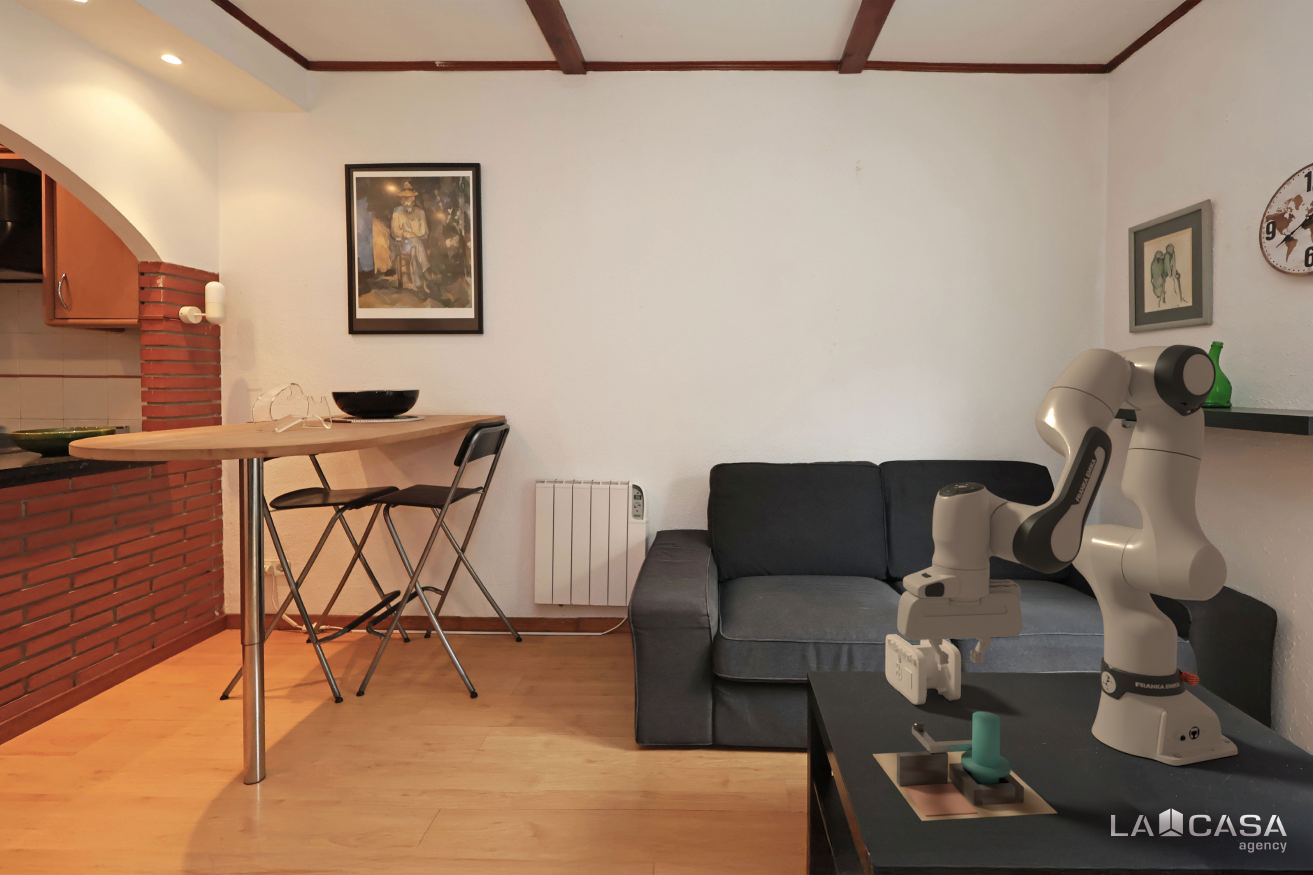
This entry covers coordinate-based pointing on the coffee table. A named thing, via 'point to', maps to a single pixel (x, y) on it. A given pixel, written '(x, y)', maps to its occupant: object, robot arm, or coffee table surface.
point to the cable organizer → (922, 669)
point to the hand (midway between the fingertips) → (959, 662)
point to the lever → (938, 746)
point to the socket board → (956, 788)
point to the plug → (985, 750)
